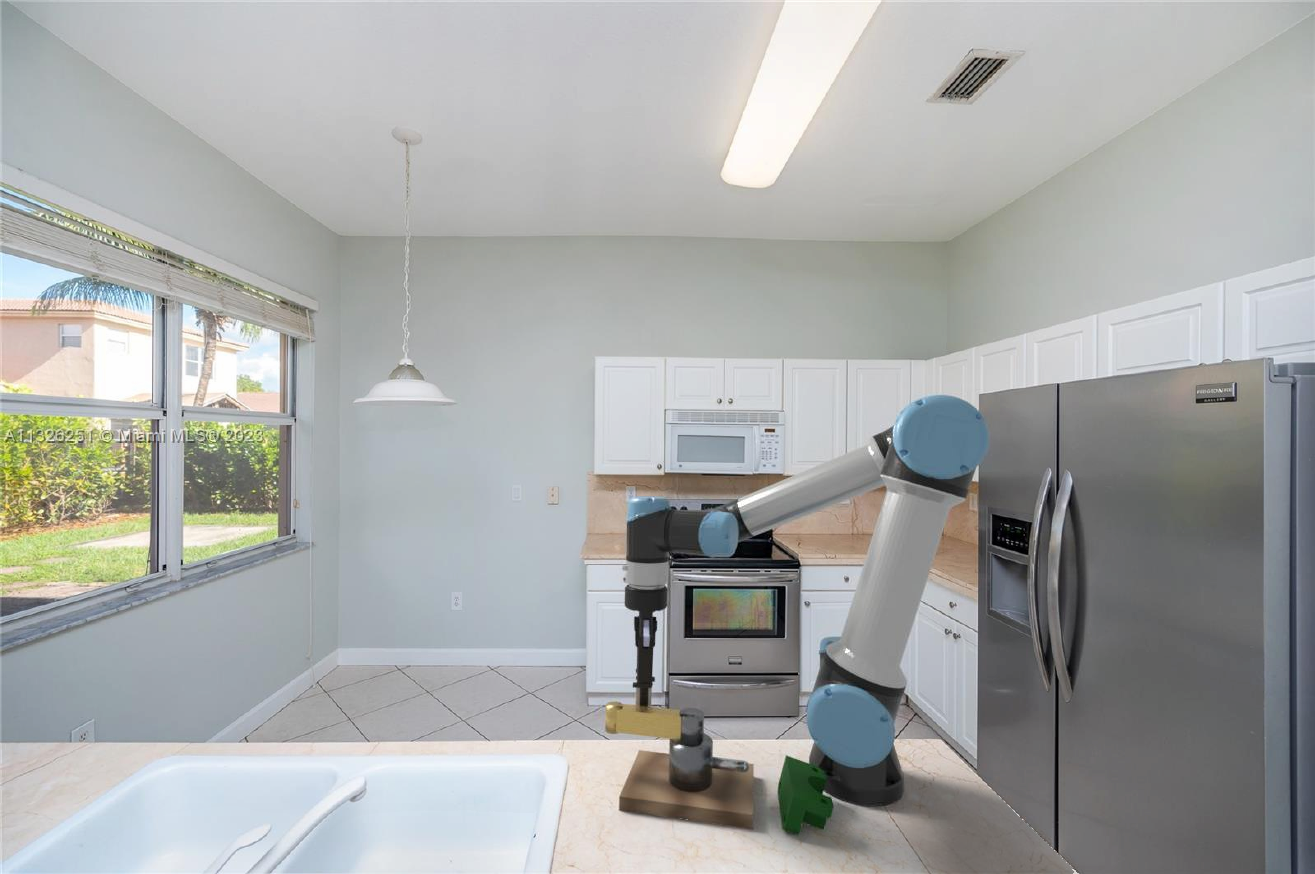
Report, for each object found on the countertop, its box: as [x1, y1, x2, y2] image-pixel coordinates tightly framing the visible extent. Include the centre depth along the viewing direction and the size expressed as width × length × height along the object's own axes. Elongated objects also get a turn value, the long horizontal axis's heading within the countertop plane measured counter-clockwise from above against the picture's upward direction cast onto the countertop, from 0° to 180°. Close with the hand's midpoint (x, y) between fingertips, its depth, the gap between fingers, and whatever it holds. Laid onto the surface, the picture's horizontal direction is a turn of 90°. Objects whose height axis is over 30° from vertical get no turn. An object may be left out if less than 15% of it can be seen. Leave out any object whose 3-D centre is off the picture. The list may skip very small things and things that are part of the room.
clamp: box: [777, 754, 835, 836], centre depth 81 cm, size 12×6×9 cm, turn 166°
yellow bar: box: [604, 701, 705, 745], centre depth 88 cm, size 16×4×4 cm, turn 79°
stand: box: [618, 749, 755, 830], centre depth 86 cm, size 20×14×2 cm
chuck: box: [668, 733, 750, 792], centre depth 86 cm, size 13×7×6 cm, turn 79°
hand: (642, 723), depth 92 cm, fingers closed
